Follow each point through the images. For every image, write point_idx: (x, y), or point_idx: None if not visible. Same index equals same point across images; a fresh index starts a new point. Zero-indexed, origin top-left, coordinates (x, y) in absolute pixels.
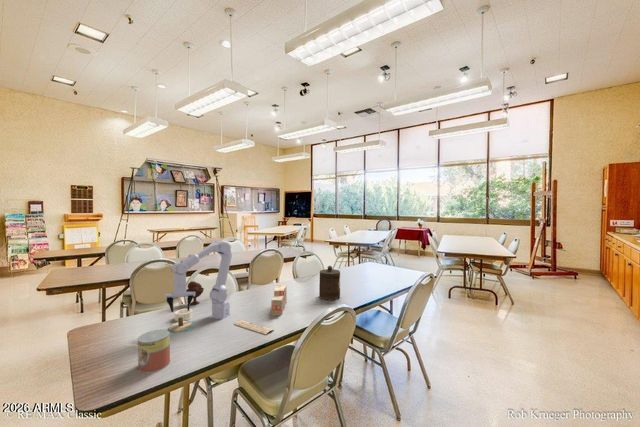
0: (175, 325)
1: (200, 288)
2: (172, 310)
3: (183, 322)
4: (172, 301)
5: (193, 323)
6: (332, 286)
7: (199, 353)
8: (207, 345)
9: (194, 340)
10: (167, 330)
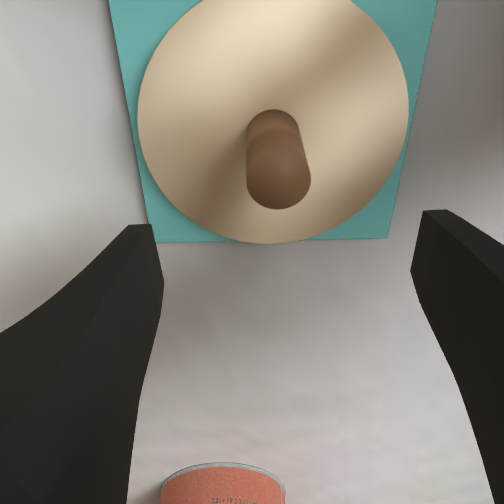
0: (206, 118)
1: None
2: (157, 313)
3: (293, 33)
4: (102, 443)
5: (422, 40)
6: None
7: (413, 466)
8: (467, 421)
9: (399, 362)
10: (143, 177)
